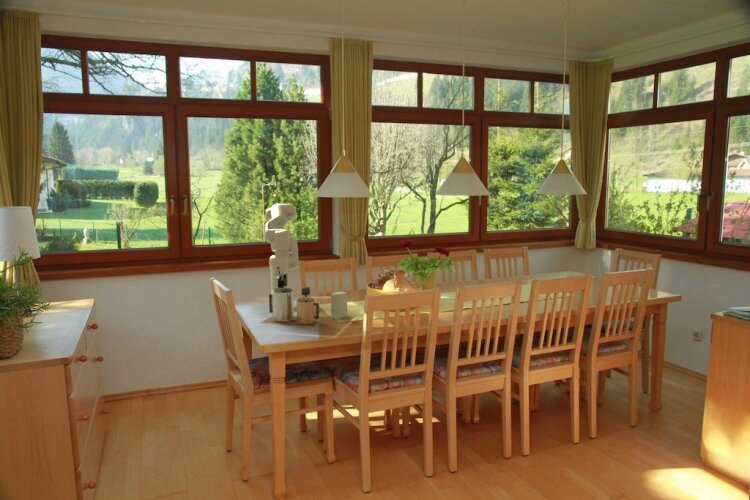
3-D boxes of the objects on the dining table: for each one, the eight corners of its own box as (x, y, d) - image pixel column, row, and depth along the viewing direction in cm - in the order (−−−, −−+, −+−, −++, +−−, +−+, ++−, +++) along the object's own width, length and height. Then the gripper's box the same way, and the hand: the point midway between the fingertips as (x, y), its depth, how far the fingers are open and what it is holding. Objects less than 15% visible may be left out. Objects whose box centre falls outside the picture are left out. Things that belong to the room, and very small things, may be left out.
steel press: (274, 315, 319) (273, 286, 317) (296, 317, 316) (295, 288, 314) (265, 320, 308) (265, 290, 306) (288, 322, 305) (288, 292, 303)
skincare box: (339, 321, 313) (339, 294, 311) (330, 319, 316) (330, 293, 314) (347, 317, 321) (347, 291, 318) (338, 316, 324) (338, 290, 321)
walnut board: (273, 316, 322) (273, 314, 322) (324, 320, 315) (324, 318, 315) (260, 325, 305) (260, 322, 304) (313, 328, 298) (313, 326, 298)
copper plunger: (302, 313, 310) (302, 286, 308) (313, 314, 309) (313, 286, 307) (298, 316, 304) (297, 288, 302) (309, 317, 303) (309, 289, 301)
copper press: (300, 319, 313) (300, 296, 311) (321, 320, 310) (321, 297, 308) (294, 323, 303) (294, 300, 302) (315, 325, 301) (315, 301, 299)
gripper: (281, 251, 316) (282, 283, 318) (269, 255, 300) (269, 289, 302) (294, 251, 314) (294, 284, 317) (282, 256, 298) (283, 290, 301)
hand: (282, 286), depth 309 cm, fingers closed on steel plunger, 4 cm apart
